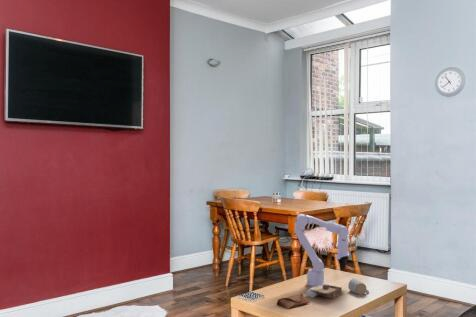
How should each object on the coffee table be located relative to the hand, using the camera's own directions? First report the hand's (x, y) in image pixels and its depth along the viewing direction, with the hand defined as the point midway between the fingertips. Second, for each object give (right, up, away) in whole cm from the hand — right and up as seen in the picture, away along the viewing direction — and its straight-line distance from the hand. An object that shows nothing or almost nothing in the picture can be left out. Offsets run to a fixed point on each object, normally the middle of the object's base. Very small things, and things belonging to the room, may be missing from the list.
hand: (342, 269), depth 257 cm
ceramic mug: (+6, -11, -12) cm, 18 cm away
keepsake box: (-12, -10, -18) cm, 24 cm away
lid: (-16, -6, -23) cm, 29 cm away
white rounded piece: (-24, -9, -19) cm, 31 cm away
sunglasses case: (-33, -11, -33) cm, 48 cm away
